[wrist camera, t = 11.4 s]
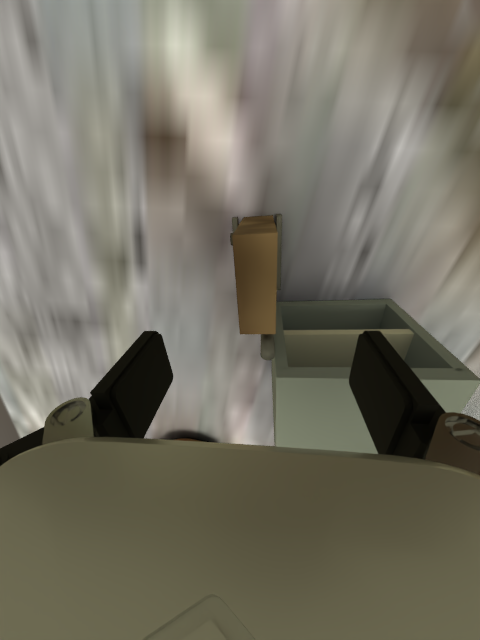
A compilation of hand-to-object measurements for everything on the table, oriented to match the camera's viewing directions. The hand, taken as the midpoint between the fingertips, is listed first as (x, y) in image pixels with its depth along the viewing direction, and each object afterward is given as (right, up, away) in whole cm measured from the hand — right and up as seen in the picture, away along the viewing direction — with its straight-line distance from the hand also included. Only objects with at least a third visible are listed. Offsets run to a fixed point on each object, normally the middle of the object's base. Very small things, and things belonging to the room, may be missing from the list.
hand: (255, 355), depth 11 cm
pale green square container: (+8, +3, +17) cm, 19 cm away
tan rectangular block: (+1, +9, +15) cm, 17 cm away
